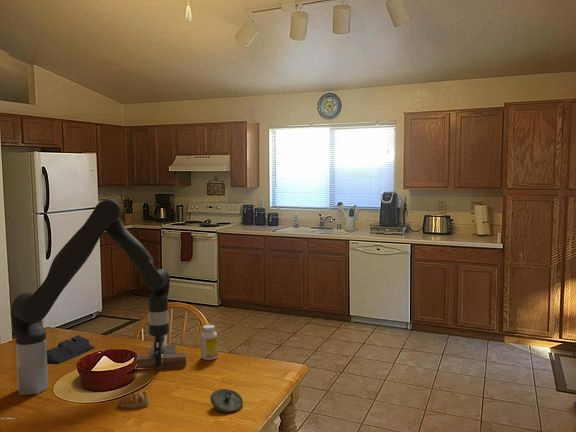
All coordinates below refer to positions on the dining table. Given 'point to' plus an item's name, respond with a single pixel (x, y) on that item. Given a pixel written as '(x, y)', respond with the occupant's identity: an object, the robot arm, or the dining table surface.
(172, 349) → the ridge stand
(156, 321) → the robot arm
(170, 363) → the batten
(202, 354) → the supplement bottle
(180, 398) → the dining table surface
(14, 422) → the dining table surface
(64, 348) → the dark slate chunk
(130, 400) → the pastry
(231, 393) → the lid
